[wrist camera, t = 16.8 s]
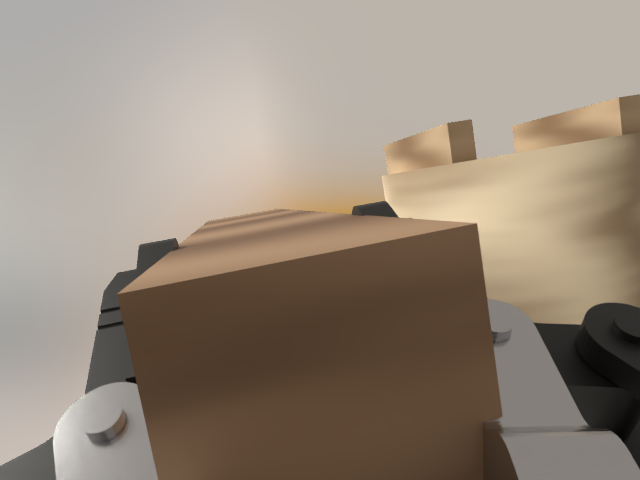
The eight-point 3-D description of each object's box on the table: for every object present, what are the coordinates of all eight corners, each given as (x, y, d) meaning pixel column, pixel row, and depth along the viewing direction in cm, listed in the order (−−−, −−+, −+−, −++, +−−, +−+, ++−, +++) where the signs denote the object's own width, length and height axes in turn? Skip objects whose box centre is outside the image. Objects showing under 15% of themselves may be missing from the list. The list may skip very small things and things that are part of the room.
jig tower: (669, 993, 17) (581, 89, 13) (426, 752, 26) (329, 152, 22) (719, 732, 24) (671, 93, 21) (516, 610, 33) (455, 139, 29)
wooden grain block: (518, 536, 6) (476, 223, 5) (195, 646, 5) (116, 294, 5) (289, 275, 27) (277, 208, 27) (221, 288, 27) (208, 220, 26)
